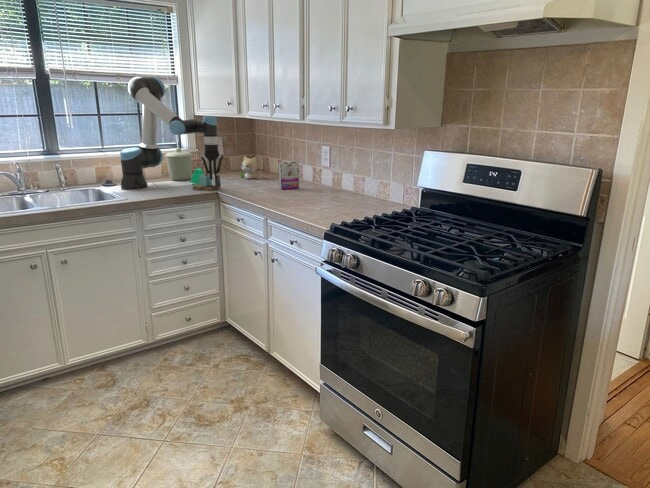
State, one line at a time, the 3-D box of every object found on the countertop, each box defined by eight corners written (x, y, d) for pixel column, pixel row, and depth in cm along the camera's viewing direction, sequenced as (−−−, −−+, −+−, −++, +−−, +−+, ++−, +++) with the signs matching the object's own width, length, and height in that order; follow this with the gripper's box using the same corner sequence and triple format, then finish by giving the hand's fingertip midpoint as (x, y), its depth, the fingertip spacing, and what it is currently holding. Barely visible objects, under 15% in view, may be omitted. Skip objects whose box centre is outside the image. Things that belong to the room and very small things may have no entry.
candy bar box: (296, 187, 298) (296, 160, 293) (299, 188, 294) (298, 161, 289) (278, 188, 294) (278, 161, 289) (281, 190, 290) (280, 162, 285)
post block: (192, 190, 288) (191, 173, 285) (198, 187, 298) (197, 170, 295) (215, 190, 287) (214, 173, 284) (220, 187, 296) (219, 171, 293)
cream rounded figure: (235, 178, 328) (234, 156, 323) (245, 176, 336) (245, 154, 331) (252, 180, 320) (251, 158, 315) (262, 178, 328) (261, 156, 323)
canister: (177, 176, 333) (174, 145, 327) (200, 178, 328) (197, 146, 322) (161, 181, 317) (157, 148, 311) (184, 182, 312) (182, 149, 305)
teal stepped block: (215, 187, 283) (215, 176, 281) (199, 184, 291) (198, 174, 289) (223, 186, 288) (222, 175, 286) (207, 183, 295) (206, 172, 293)
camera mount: (213, 184, 308) (212, 168, 304) (204, 186, 301) (203, 169, 298) (199, 182, 313) (198, 166, 310) (190, 184, 307) (189, 168, 304)
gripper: (200, 144, 270) (203, 186, 277) (223, 144, 275) (226, 185, 282) (198, 143, 277) (201, 184, 284) (221, 143, 282) (223, 183, 289)
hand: (213, 184), depth 283 cm, fingers closed
